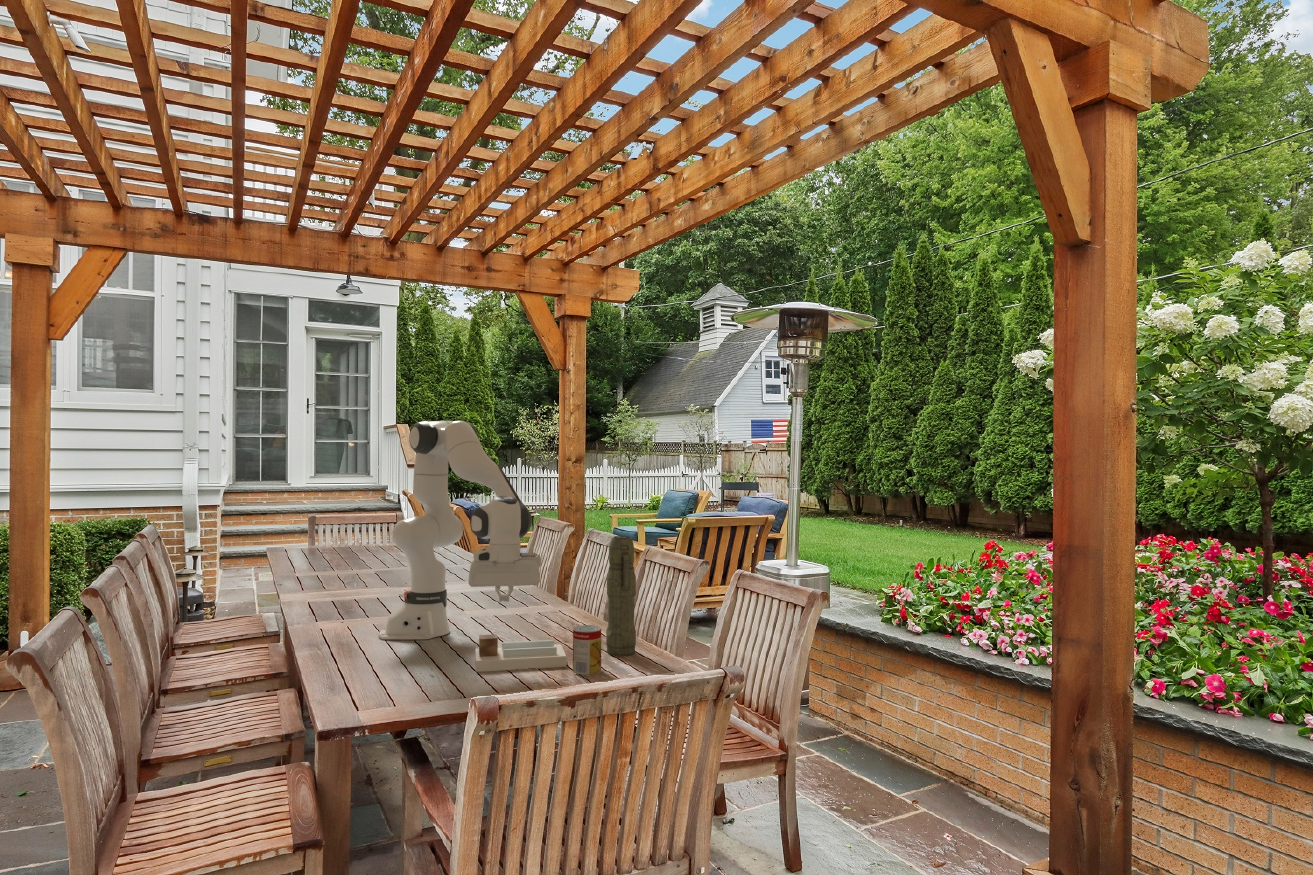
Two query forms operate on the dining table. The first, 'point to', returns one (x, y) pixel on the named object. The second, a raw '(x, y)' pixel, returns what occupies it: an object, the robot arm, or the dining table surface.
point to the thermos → (621, 598)
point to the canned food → (587, 650)
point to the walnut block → (488, 645)
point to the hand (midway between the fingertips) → (504, 601)
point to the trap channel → (523, 656)
